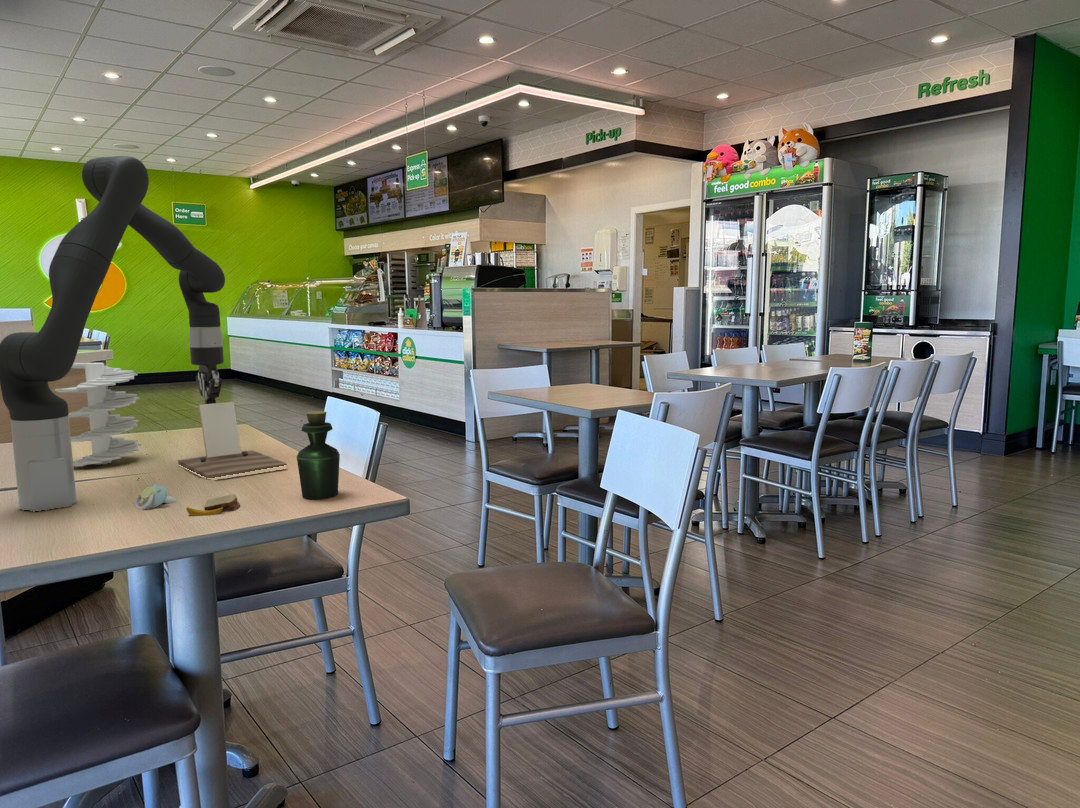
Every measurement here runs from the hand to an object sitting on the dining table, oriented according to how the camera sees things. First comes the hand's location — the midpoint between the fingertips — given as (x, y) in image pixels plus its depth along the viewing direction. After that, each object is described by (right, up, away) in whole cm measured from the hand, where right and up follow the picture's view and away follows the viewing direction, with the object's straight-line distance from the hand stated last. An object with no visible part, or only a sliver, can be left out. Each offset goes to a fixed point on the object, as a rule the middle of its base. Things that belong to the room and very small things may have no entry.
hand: (211, 414), depth 185 cm
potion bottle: (+39, -17, -39) cm, 58 cm away
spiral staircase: (-26, -12, -1) cm, 29 cm away
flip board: (+9, -13, -8) cm, 17 cm away
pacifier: (+8, -19, -45) cm, 50 cm away
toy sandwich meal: (+22, -19, -49) cm, 57 cm away
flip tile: (+4, -4, -4) cm, 7 cm away
